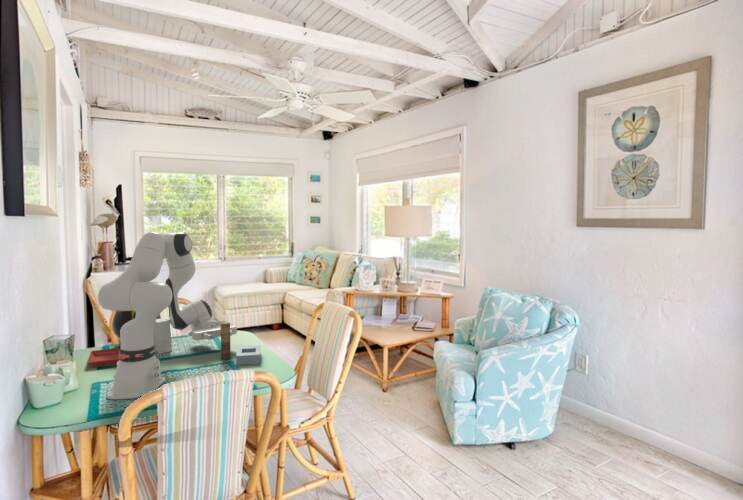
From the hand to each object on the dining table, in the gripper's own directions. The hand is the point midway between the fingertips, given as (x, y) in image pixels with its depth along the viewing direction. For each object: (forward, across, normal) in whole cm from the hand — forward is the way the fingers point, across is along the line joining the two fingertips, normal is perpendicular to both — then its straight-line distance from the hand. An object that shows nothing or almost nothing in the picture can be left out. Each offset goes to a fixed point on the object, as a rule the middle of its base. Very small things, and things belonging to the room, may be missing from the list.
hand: (220, 335), depth 206 cm
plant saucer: (-24, -39, +10) cm, 47 cm away
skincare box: (-25, -18, +10) cm, 32 cm away
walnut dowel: (+5, 0, +9) cm, 11 cm away
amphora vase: (-44, -24, +10) cm, 51 cm away
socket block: (+12, +8, +9) cm, 17 cm away
